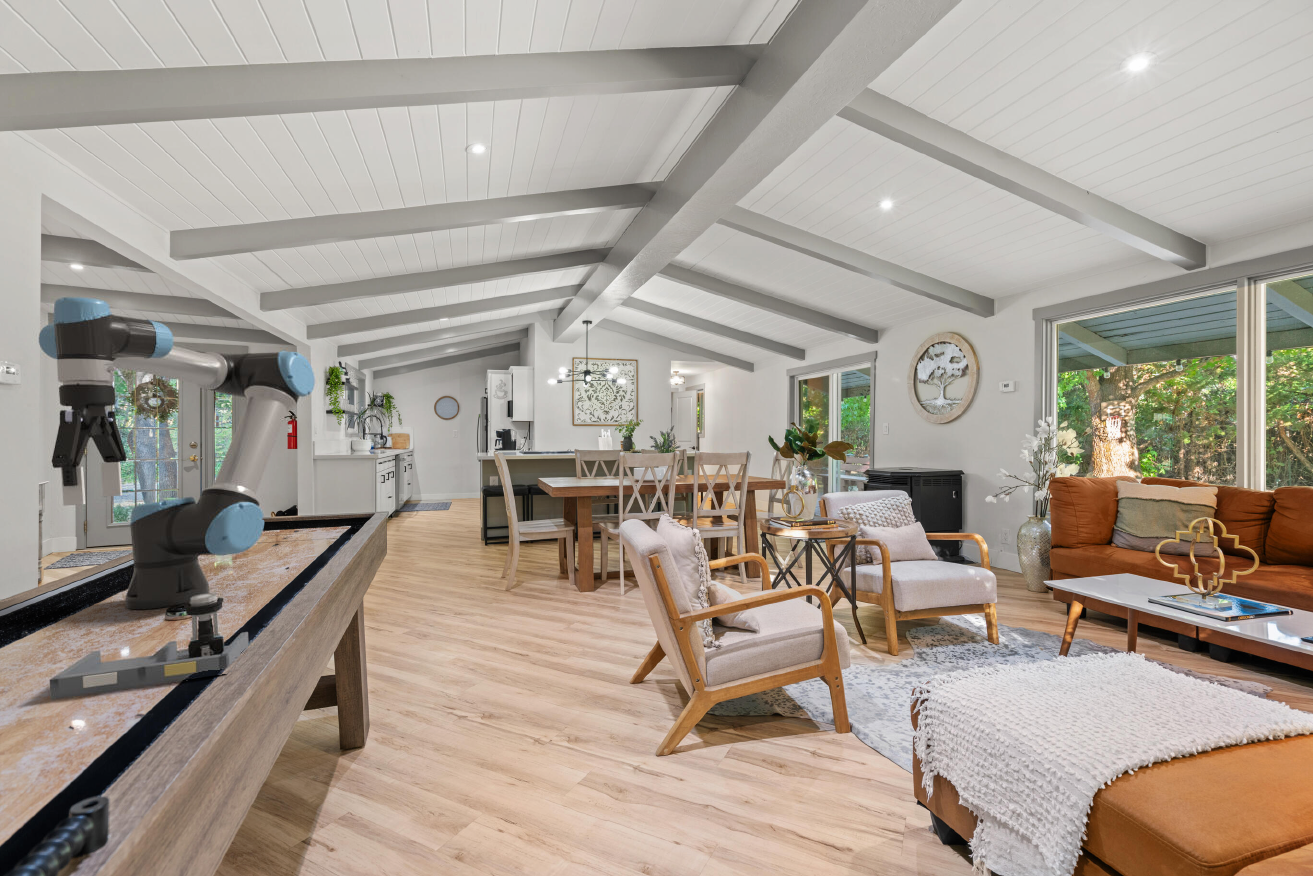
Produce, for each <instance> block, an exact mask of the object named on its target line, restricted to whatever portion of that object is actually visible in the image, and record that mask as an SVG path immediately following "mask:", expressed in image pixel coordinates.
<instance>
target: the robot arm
mask: <svg viewBox="0 0 1313 876" xmlns="http://www.w3.org/2000/svg"><path fill="white" fill-rule="evenodd" d="M38 335H39V336H38V344H39V346H40V349H41V350H42V351H43V352H44V354H46V355H47V357H50V358H52V359H55V360H56V367H57V381H58V382H59V383H62V385H60V386H59V387H58V395H59V404H60V405H61V406H63V407H71V409H67V410H66V409H61V410H60V411H59V425H58V429H57V435H56V438H55V444H54V448H53V452H52V456H51V457H52V458H51V464H52V467H53V469H59V468H60V472H61V485H62V486H61V487H62V502H63V503H62V504H63V506H64V507H65V506H66V507H67V506H79V505H81V506H82V505H86V493H85V492H86V490H85V476H84V474H85V473H84V466H80V465H81V461H82V460H83V456H84V454H85V451H86V448H87V447H88V446H87V445H88V444H89V441H90V438H91V439H92V441H93V442H94V444H95V446H96V448H97V450H98V453H99V454H100V456H101V458H102V460H103V462H100V468H101V481H102V482H101V483H102V497H120V496H123V485H122V470H121V462H126V461H127V458H128V457H127V454H126V450H125V448H124V444H123V441H122V436H121V433H120V431H119V428H118V425H117V419H116V412H115V411H114V410H107V411H106V407H109V406H110V407H111V406H114V405H116V403H117V402H116V401H117V400H116V388H115V387H114V385H111V384H112V383H113V382H115V378H114V375H115V374H114V372H115V371H116V370H117V368H119V369H124V370H130V371H133V372H139V373H143V374H144V373H145V374H150V375H154V376H158V377H164V378H168V379H173V380H178V381H183V382H188V383H193V384H195V385H196V386H197V387H199V388H201V389H203V390H208V391H212V392H217V393H221V394H224V395H230V396H234V397H240V398H246V400H248V401H247V403H246V406H245V407H244V410H243V413H242V415H241V418H240V420H239V421H238V424H237V426H236V427H237V428H236V430H235V431H234V434H233V437H232V440H231V442H230V445H229V447H228V448H227V451H226V453H225V456H224V459H223V461H222V463H221V465H220V468H219V471H218V473H217V476H216V478H215V480H214V483H213V485H211V486H209V487H206V488H204V489H203V490H202V491H201V494H200V497H199V498H198V501H196V500H195V498H194V497H193V496H188V497H179V498H174V499H168V500H161V501H155V502H154V501H153V502H150V503H149V502H148V503H144V504H138V505H136V506H134V507H133V508H132V510H131V513H130V516H131V518H130V523H129V526H130V533H131V535H130V536H131V546H132V558H133V574H132V578H131V579H130V583H129V585H128V588H127V591H126V595H125V597H124V599H125V607H126V608H127V609H129V610H151V609H160V608H168V607H172V606H177V605H182V604H186V603H189V602H190V601H191V599H190V598H191V597H193V596H197V595H201V594H208V593H210V585H209V582H208V580H207V578H206V575H205V573H204V571H203V569H202V567H201V565H200V563H199V555H200V556H201V555H202V556H210V555H211V556H213V555H214V556H215V555H216V556H228V555H236V554H237V555H238V554H241V553H244V552H245V551H247V550H250V549H251V548H252V547H253V546H255V544H256V543H257V542H258V541H259V539H260V538H261V536H262V533H263V531H264V527H265V520H264V517H265V516H264V513H263V510H262V509H261V508H260V500H259V499H258V498H257V496H256V494H257V491H258V489H259V486H260V483H261V480H262V478H263V476H264V472H265V469H266V467H267V465H268V462H269V459H270V456H271V454H272V452H273V449H274V446H275V443H276V441H277V438H278V435H279V432H280V429H281V427H282V424H283V421H284V419H285V416H286V414H287V412H289V411H290V412H291V411H292V410H294V409H296V407H297V403H298V401H299V398H300V397H301V398H303V397H304V398H305V397H306V396H308V395H309V396H310V394H311V393H312V392H313V390H314V388H315V381H316V380H315V373H314V371H313V367H312V365H311V363H310V361H309V360H308V359H307V358H306V357H305V356H304V355H303V354H301V353H299V352H297V351H285V350H281V351H279V352H278V351H277V352H252V353H250V352H249V353H230V354H228V353H227V354H226V353H220V352H219V353H218V352H215V351H206V352H199V351H195V350H192V349H188V348H183V347H179V346H175V345H174V335H173V333H172V331H171V330H170V328H169V327H168V326H167V325H165V324H163V323H161V322H157V321H153V320H151V319H143V318H142V319H140V318H136V317H135V318H134V317H128V316H121V315H116V314H112V311H111V310H110V305H109V303H108V302H106V301H105V300H104V301H103V300H102V299H98V298H97V299H96V298H90V297H80V296H78V297H76V296H66V297H61V298H58V299H56V300H55V301H54V306H53V321H52V323H49V324H47V325H45V326H44V327H42V329H41V330H40V331H39V334H38Z"/></svg>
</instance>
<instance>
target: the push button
mask: <svg viewBox="0 0 1313 876" xmlns="http://www.w3.org/2000/svg"><path fill="white" fill-rule="evenodd" d="M190 599H191V601H190V602H187V603H184V605H183V609H185V614H186V615H187V616H191V630H192V631H191V634H192V636H191V637H190V641H189V643H188V645H187V648H186V649H181V650H177V652H176V653H179V652H186V651H188V652H189V654H186V655H182V657H188V656H189V659H190V658H197V657H205V656H212V655H219V654H222V653H223V652H224V646H225V642H224V639H225V638H224V635H222V632H221V631H219V630H220V629H219V614H218V613H219V611H220V610H222V609H223V603H224V598H223V597H218V594H217V593H214V592H213V593H211V592H209V593H208V594H201V595H197V596H193V597H191V598H190ZM197 618H198V619H197ZM197 620H198V621H197ZM177 658H181V656H177Z"/></svg>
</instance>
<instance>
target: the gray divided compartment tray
mask: <svg viewBox="0 0 1313 876" xmlns="http://www.w3.org/2000/svg"><path fill="white" fill-rule="evenodd" d="M248 645H250V643H249V632H248V631H245V632H241V633H240V634H239V635H238V636H237V637H236V638H235V639H234V640H233V641H231V643H230V644H229V645H224V652H223V653H222V654H219V655H212V656H205V657H197V658H190V659H189V656H188V657H182V655H186V654H189V652H188V651H186V652H180V651H179V653H176V652H177V651H178V645H177V640H173V641H172V640H171V641H169V642H168V643H166V644H165V645H164V646H162V648H160V649H158V650H157V651H156V652H155V653H154V654H153V655H149V656H146V655H145V656H140V657H139V656H138V657H132V658H131V657H130V658H124V659H116V660H110V661H102V660H101V659H102V657H101V650H93V651H91V652H89V653H88V654H86V655H85V656H84V657H82V658H80V659H79V660H78V661H76V662H74V663H73V664H71V665H69V666H68V667H67V668H65V669H64V670H63V671H60V672H59V673H58V674H56V675H54V676H53V677H51V678H50V679H49V693H50V700H51V701H54V700H62V699H67V698H73V697H74V696H75V697H82V696H88V695H89V696H90V695H95V694H101V693H102V694H103V693H108V692H110V693H111V692H116V691H122V690H130V689H137V688H145V687H152V686H158V685H164V684H170V683H171V684H172V683H179V682H183V681H182V680H184V679H186V678H188V677H189V676H190V675H192V674H194V673H198V672H202V671H208V670H220V669H225V668H227V667H228V666H229V665H230V664H231V663H232V662H233V661H234V660H235V658H236V657H238V656H239V655H240V653H241V652H242V651H243V650H244V649H245V648H246V647H247V646H248ZM177 656H181V658H177ZM75 697H74V698H75Z"/></svg>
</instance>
